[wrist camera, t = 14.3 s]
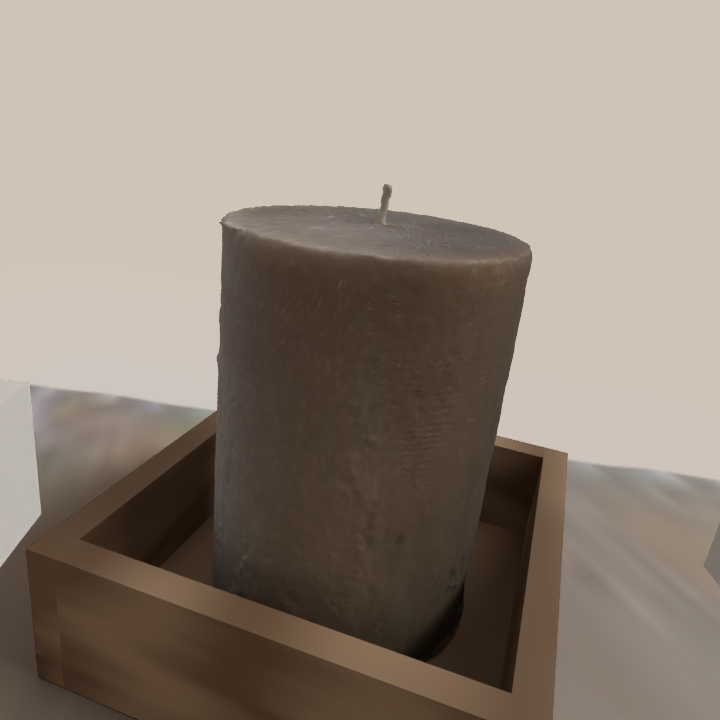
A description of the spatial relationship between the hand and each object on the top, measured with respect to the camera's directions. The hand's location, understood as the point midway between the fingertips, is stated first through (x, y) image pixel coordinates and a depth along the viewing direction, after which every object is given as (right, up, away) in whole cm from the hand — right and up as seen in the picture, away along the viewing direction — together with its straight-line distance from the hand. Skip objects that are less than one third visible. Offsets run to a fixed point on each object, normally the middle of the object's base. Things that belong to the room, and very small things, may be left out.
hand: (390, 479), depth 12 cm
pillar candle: (-2, -7, +13) cm, 14 cm away
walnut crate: (-1, -7, +13) cm, 15 cm away
